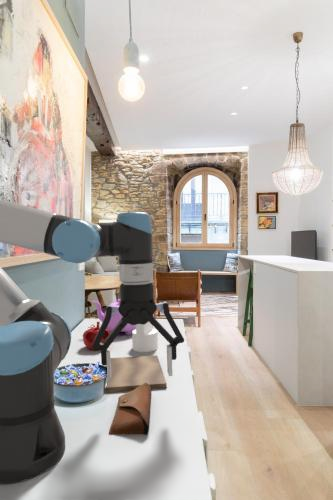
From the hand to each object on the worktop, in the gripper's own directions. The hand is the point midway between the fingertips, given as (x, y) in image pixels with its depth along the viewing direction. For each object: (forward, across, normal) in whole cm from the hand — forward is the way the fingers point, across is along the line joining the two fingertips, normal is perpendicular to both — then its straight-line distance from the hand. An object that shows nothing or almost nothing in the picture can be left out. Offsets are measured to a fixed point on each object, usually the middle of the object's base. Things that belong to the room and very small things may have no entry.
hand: (140, 376), depth 79 cm
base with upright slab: (+9, +4, +46) cm, 47 cm away
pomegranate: (+8, -13, +50) cm, 52 cm away
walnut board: (+8, -1, +23) cm, 24 cm away
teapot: (+8, -5, +69) cm, 70 cm away
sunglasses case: (+9, -2, 0) cm, 9 cm away
